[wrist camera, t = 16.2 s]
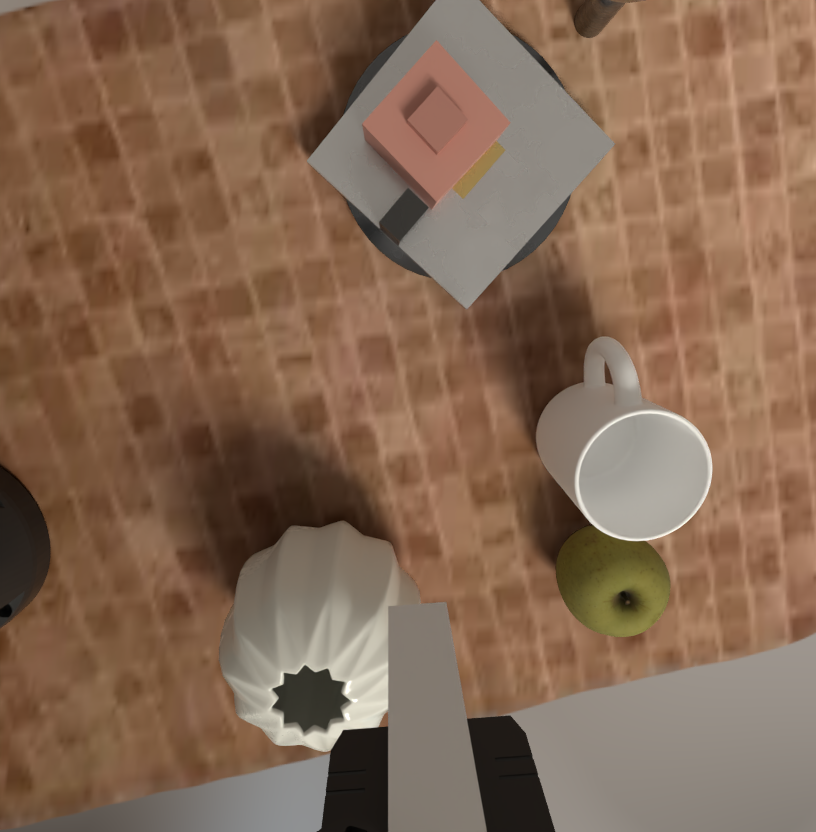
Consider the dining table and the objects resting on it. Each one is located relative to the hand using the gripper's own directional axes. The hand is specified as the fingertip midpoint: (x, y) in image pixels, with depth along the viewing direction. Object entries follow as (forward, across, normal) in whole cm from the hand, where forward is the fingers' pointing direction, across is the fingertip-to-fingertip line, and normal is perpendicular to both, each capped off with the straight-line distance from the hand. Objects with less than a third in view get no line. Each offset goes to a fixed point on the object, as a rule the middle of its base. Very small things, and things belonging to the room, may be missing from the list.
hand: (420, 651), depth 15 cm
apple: (+30, +15, -13) cm, 35 cm away
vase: (+30, -6, -14) cm, 34 cm away
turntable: (+28, +5, +17) cm, 33 cm away
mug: (+30, +14, -1) cm, 33 cm away
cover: (+27, +3, +18) cm, 32 cm away
